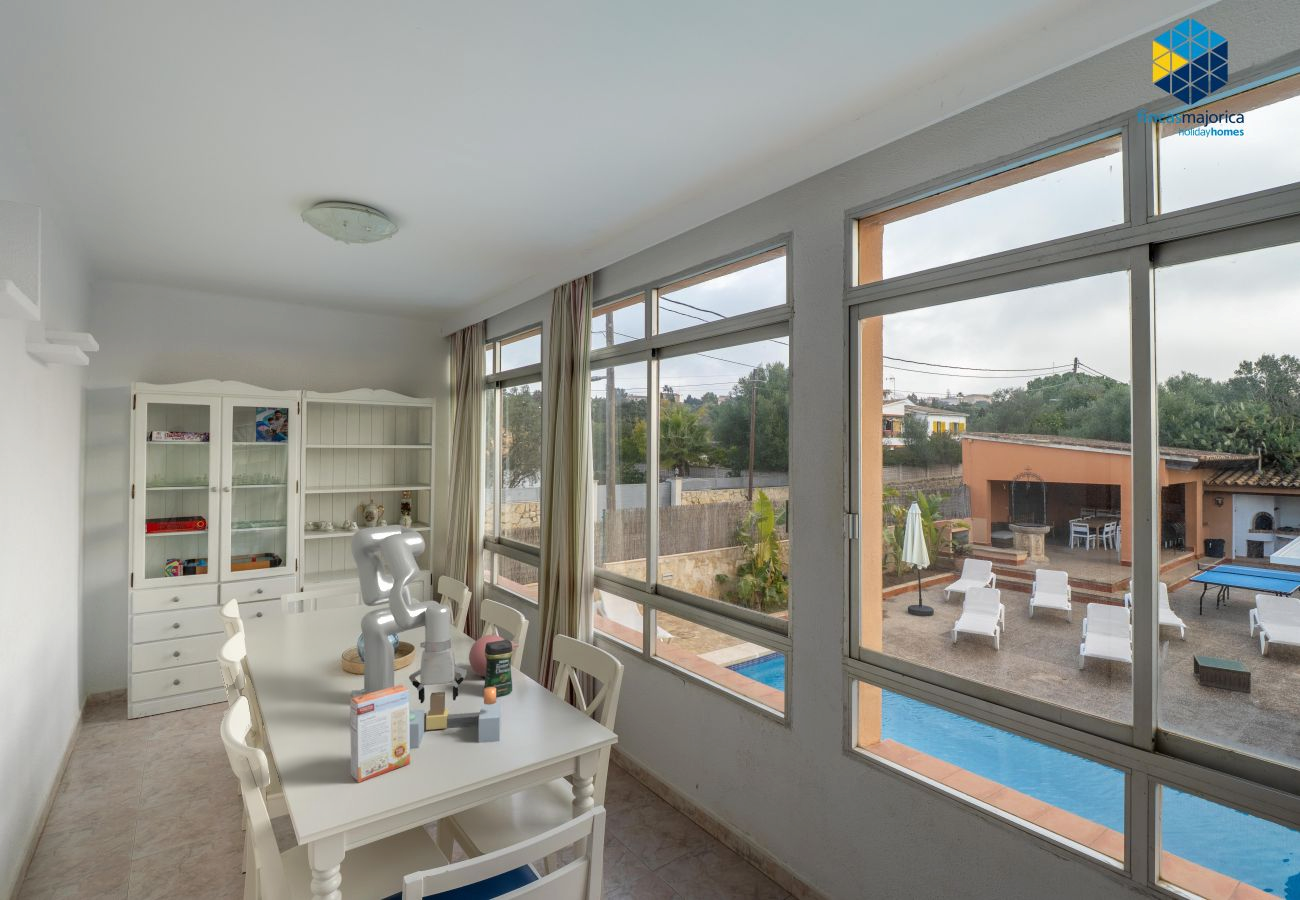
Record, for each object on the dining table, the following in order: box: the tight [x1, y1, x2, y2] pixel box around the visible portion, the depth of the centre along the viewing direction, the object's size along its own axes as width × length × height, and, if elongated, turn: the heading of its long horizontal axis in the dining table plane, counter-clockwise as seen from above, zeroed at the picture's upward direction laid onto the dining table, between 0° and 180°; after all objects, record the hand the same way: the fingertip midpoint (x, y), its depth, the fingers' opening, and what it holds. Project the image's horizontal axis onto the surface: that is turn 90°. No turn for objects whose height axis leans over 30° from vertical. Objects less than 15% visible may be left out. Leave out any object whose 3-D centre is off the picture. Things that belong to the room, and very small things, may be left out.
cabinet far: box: [478, 703, 502, 743], centre depth 190 cm, size 6×10×7 cm, turn 11°
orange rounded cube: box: [483, 687, 497, 705], centre depth 188 cm, size 4×4×4 cm
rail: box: [424, 711, 480, 731], centre depth 195 cm, size 20×3×4 cm, turn 101°
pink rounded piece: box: [468, 634, 520, 677], centre depth 239 cm, size 15×20×15 cm
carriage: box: [425, 691, 450, 731], centre depth 194 cm, size 6×5×10 cm
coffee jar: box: [483, 639, 514, 698], centre depth 221 cm, size 10×8×19 cm
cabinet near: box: [409, 709, 425, 749], centre depth 185 cm, size 7×10×8 cm
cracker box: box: [349, 684, 411, 783], centre depth 168 cm, size 14×6×21 cm, turn 134°
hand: (438, 700), depth 194 cm, fingers open, 9 cm apart
